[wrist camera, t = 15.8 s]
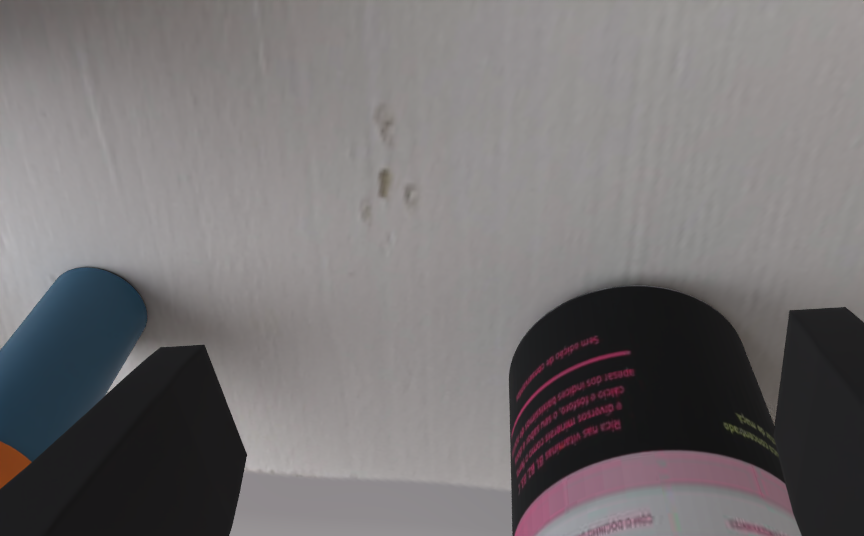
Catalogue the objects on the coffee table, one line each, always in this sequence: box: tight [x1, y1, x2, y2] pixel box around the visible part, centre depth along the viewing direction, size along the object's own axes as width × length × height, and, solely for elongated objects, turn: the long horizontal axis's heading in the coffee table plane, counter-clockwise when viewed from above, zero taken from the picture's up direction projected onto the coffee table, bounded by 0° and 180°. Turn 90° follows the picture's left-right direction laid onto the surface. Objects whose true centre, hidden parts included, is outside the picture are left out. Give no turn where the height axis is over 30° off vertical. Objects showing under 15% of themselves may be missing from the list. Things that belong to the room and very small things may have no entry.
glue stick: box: [0, 267, 147, 489], centre depth 20 cm, size 3×3×8 cm
